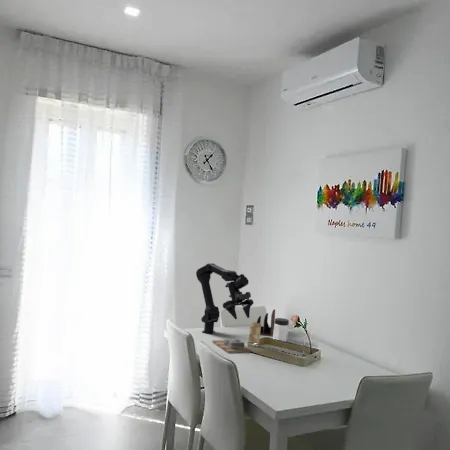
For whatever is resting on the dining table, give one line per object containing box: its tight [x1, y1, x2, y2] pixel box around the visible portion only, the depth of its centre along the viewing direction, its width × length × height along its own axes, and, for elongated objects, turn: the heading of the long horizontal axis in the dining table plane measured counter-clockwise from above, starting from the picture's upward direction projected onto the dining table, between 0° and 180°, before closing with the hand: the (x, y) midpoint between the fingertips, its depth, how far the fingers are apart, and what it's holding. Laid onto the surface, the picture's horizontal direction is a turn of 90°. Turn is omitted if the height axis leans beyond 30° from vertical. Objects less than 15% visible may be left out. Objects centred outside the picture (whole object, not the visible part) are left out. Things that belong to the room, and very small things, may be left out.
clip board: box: [211, 337, 253, 354], centre depth 261 cm, size 20×14×4 cm
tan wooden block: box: [248, 321, 262, 345], centre depth 268 cm, size 5×3×12 cm, turn 51°
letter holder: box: [256, 308, 276, 337], centre depth 303 cm, size 10×20×14 cm, turn 169°
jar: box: [272, 317, 290, 342], centre depth 287 cm, size 9×8×12 cm
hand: (242, 318), depth 268 cm, fingers open, 9 cm apart
